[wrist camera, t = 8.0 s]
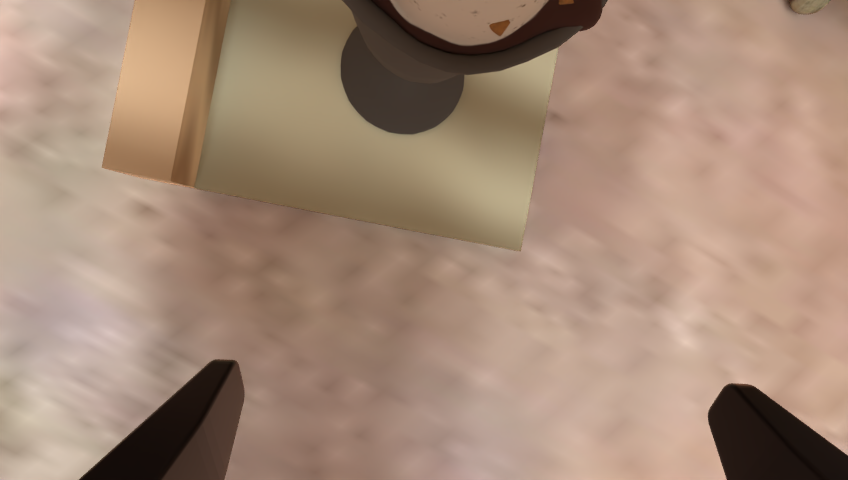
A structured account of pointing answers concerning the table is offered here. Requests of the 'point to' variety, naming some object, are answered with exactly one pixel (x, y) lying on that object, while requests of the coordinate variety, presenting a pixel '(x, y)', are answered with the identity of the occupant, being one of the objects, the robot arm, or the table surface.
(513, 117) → the corner tray
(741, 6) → the table surface
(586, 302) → the table surface
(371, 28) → the sundae
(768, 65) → the table surface
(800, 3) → the tabletop clock
